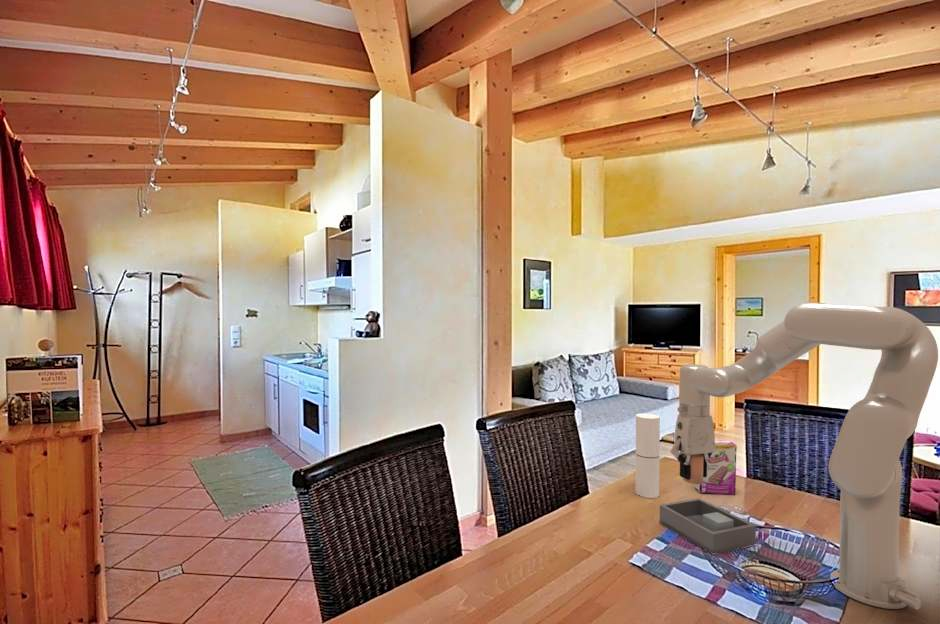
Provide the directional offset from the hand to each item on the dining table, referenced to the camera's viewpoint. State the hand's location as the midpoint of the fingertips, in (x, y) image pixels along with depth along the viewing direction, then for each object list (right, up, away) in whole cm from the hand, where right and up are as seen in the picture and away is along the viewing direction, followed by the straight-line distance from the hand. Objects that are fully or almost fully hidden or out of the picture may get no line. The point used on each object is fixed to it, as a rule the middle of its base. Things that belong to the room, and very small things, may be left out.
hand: (693, 476), depth 128 cm
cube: (+3, -13, -8) cm, 15 cm away
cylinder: (0, -1, 0) cm, 1 cm away
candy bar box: (+19, -14, +25) cm, 34 cm away
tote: (+1, -14, -4) cm, 14 cm away
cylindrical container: (-4, -14, +23) cm, 27 cm away
